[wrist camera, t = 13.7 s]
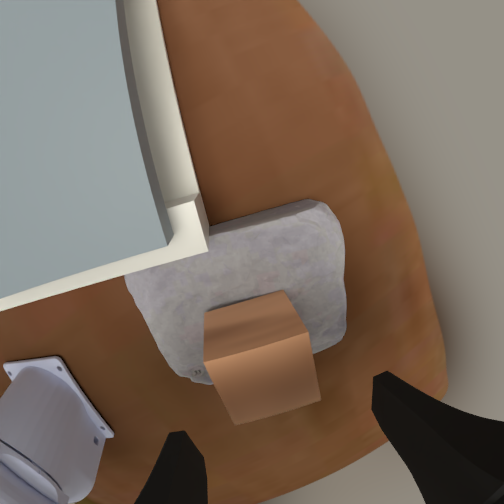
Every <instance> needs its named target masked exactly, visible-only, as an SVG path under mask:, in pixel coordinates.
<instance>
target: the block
mask: <svg viewBox="0 0 504 504" xmlns="http://www.w3.org/2000/svg"><path fill="white" fill-rule="evenodd" d="M203 363H204V365H205V367H206V369H207V371H208V373H209V376H210V378H211V380H212V382H213V384H214V386H215V388H216V390H217V392H218V394H219V396H220V398H221V400H222V402H223V404H224V406H225V408H226V409H227V411H228V413H229V415H230V417H231V419H232V421H233V423H234V425H239V424H243V423H247V422H251V421H255V420H259V419H263V418H266V417H270V416H273V415H277V414H280V413H283V412H287V411H290V410H293V409H296V408H299V407H302V406H305V405H308V404H311V403H314V402H317V401H320V400H321V397H320V391H319V385H318V380H317V374H316V369H315V363H314V358H313V353H312V348H311V342H310V337H309V332H308V330H307V328H306V327H305V325H304V323H303V322H302V320H301V318H300V317H299V315H298V313H297V312H296V310H295V308H294V307H293V305H292V303H291V302H290V300H289V298H288V297H287V295H286V293H285V292H284V290H280V291H276V292H273V293H270V294H267V295H263V296H260V297H257V298H253V299H250V300H247V301H243V302H240V303H237V304H233V305H230V306H226V307H223V308H219V309H216V310H212V311H209V312H205V313H204V346H203Z"/></svg>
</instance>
